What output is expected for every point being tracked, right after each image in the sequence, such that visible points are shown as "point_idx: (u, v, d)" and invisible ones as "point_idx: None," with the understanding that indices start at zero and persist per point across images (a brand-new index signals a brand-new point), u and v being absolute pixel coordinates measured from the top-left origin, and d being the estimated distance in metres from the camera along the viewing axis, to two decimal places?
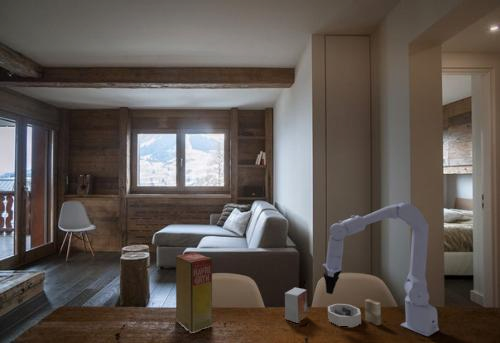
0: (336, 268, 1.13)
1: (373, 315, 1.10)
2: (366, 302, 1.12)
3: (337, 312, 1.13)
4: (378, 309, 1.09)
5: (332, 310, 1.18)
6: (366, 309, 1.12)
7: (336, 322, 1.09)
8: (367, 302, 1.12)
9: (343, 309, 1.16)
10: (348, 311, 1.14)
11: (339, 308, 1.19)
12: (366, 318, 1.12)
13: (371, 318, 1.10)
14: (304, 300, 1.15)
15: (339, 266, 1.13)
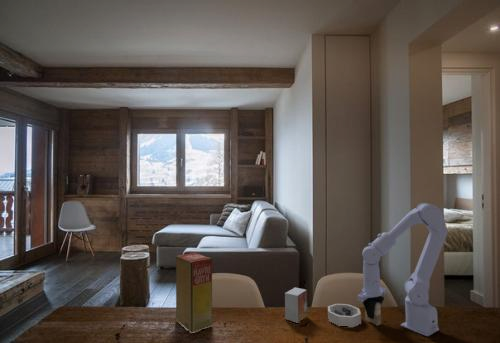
0: (371, 293, 1.09)
1: None
2: None
3: (337, 312, 1.13)
4: (378, 308, 1.09)
5: (332, 310, 1.18)
6: None
7: (336, 322, 1.09)
8: None
9: (343, 309, 1.16)
10: (348, 311, 1.14)
11: (339, 308, 1.19)
12: (366, 318, 1.12)
13: None
14: (304, 300, 1.15)
15: (374, 292, 1.09)
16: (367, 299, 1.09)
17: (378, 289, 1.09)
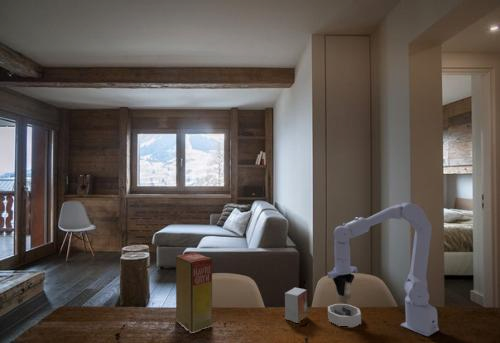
0: (341, 271, 1.12)
1: None
2: None
3: (337, 312, 1.13)
4: (348, 288, 1.12)
5: (332, 310, 1.18)
6: None
7: (336, 322, 1.09)
8: None
9: (343, 309, 1.16)
10: (348, 311, 1.14)
11: (339, 308, 1.19)
12: (337, 297, 1.15)
13: (342, 298, 1.13)
14: (304, 300, 1.15)
15: (344, 269, 1.12)
16: (337, 276, 1.12)
17: (348, 267, 1.12)
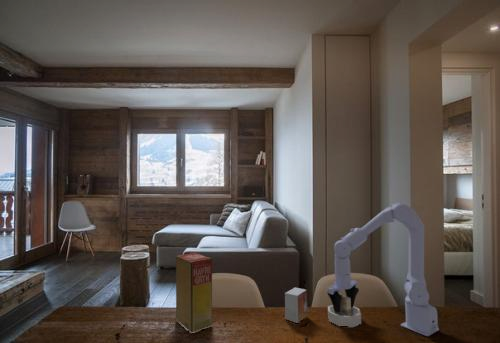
0: (341, 286, 1.12)
1: (344, 309, 1.12)
2: None
3: (337, 312, 1.13)
4: (348, 303, 1.12)
5: (332, 310, 1.18)
6: None
7: (336, 322, 1.09)
8: None
9: None
10: None
11: None
12: None
13: None
14: (304, 300, 1.15)
15: (345, 284, 1.11)
16: (337, 292, 1.11)
17: (348, 282, 1.12)
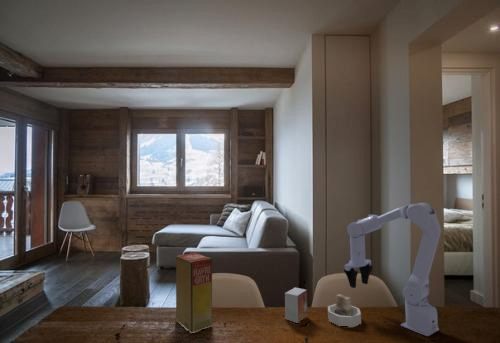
0: (357, 263, 1.20)
1: (344, 309, 1.12)
2: (337, 297, 1.15)
3: (337, 312, 1.13)
4: (348, 303, 1.12)
5: (332, 310, 1.18)
6: (337, 304, 1.15)
7: (336, 322, 1.09)
8: (338, 297, 1.15)
9: None
10: None
11: None
12: None
13: None
14: (304, 300, 1.15)
15: (360, 262, 1.20)
16: (353, 268, 1.20)
17: (363, 259, 1.20)
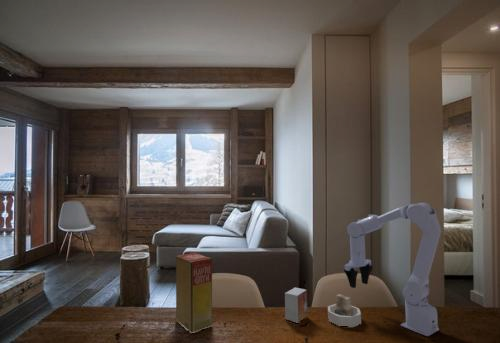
0: (357, 263, 1.20)
1: (344, 309, 1.12)
2: (337, 297, 1.15)
3: (337, 312, 1.13)
4: (348, 303, 1.12)
5: (332, 310, 1.18)
6: (337, 304, 1.15)
7: (336, 322, 1.09)
8: (338, 297, 1.15)
9: None
10: None
11: None
12: None
13: None
14: (304, 300, 1.15)
15: (360, 262, 1.20)
16: (353, 268, 1.20)
17: (363, 259, 1.20)
